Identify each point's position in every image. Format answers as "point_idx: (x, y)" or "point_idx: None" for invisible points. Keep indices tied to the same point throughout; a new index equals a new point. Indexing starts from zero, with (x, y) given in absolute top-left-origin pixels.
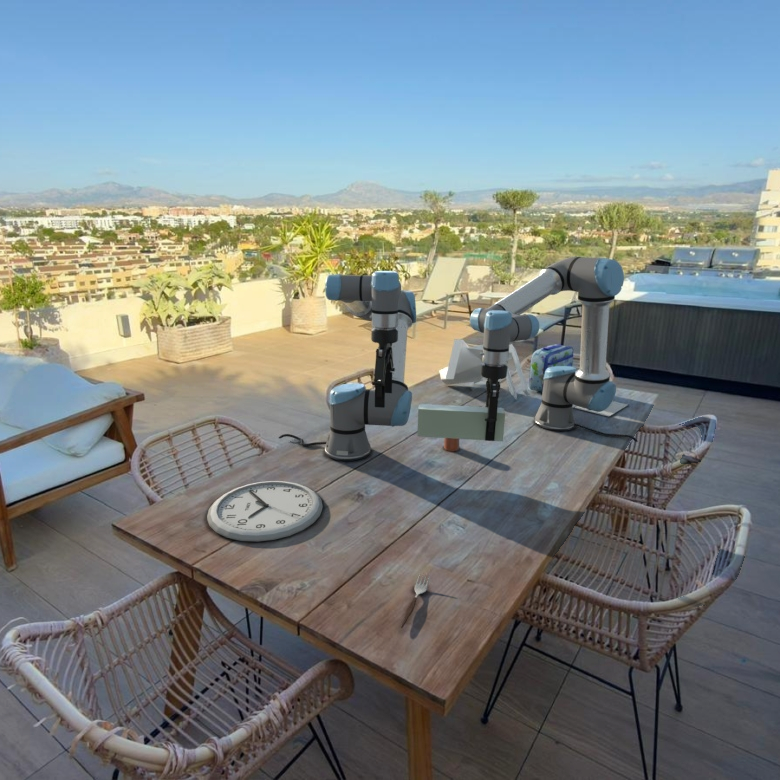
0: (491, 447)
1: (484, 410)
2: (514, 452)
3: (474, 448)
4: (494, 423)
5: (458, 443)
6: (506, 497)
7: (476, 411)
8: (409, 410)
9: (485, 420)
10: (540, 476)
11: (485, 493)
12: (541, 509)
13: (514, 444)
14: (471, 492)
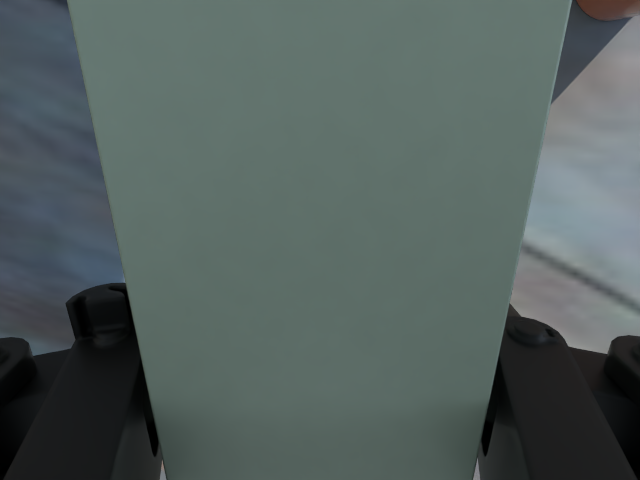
0: (605, 215)
1: (268, 351)
2: (536, 313)
3: (602, 122)
4: None
5: (620, 8)
6: (80, 242)
7: (140, 175)
8: None
9: (84, 297)
10: None
11: (82, 156)
12: (37, 350)
13: (628, 321)
14: (67, 88)
